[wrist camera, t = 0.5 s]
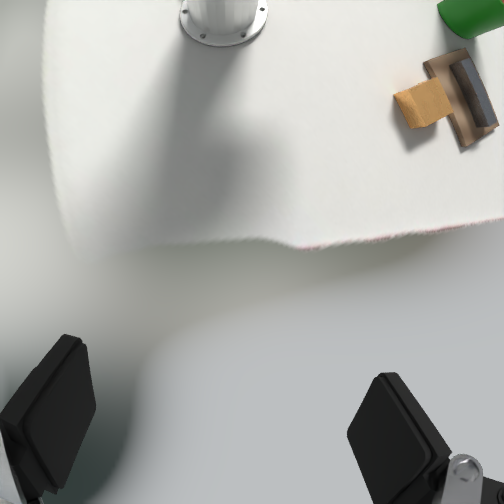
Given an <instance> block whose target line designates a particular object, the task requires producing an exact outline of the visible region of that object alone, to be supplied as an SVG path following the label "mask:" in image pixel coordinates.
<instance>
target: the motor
mask: <svg viewBox="0 0 504 504" xmlns="http://www.w3.org/2000/svg"><path fill="white" fill-rule="evenodd" d="M437 6H438V10H439V13H440V15H441V17H442V19H443V20H444V22H445V23H446V24H447V25H448V27H449V28H450V29H451V30H452V31H453V32H455V33H456V34H457V35H459V36H460V37H462V38H465V39H471V38H473V37H476V36H478V35H481V34H483V33H486V32H488V31H491V30H494V29H496V28H499V27H502V26H504V0H443V1H442V2H440V3H439V4H437Z"/></svg>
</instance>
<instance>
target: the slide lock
mask: <svg viewBox="0 0 504 504" xmlns="http://www.w3.org/2000/svg"><path fill="white" fill-rule="evenodd" d="M394 97H395V98H396V100H397V102H398V104H399V106H400V108H401V110H402V112H403V114H404V116H405V118H406V120H407V122H408V124H409V127H410V129H412V128H419V127H426V126H428V125H430V124H432V123H434V122H436V121H438V120H439V119H441V118H443V117H445V116H447V115H449V114H451V113H453V112H454V111H453V109H452V106H451V104H450V102H449V100H448V98H447V95H446V93H445V91H444V89H443V87H442V85H441V83H440V81H439V79H438V77H435V78H432V79H429V80H426V81H423V82H421V83H418V85H416V86H414V87H411V88H409V89H406V90H404V91H401V92H398V93H396V94H394Z"/></svg>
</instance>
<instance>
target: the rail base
mask: <svg viewBox="0 0 504 504" xmlns="http://www.w3.org/2000/svg"><path fill="white" fill-rule="evenodd" d="M468 58H470V59H471V57H470V56H469V54H468V52H467V50H466V48H463V49H460V50H457V51H454V52H451V53H448V54H445V55H442V56H439V57H436V58H433V59H430V60H428V61H425V62H423V63H424V65H425V67H426V69H427V71H428V73H429V74H430V76H431V78H435V77H438V79H439V81H440V83H441V85H442V87H443V89H444V91H445V93H446V95H447V98H448V100H449V102H450V104H451V106H452V109H453V111H454V112H453V113H451V114H449V116H450V119H451V121H452V123H453V126H454V128H455V131H456V133H457V136H458V139H459V141H460V144H461V147H467V146H468V145H470V144H472V143H473V142H475V141H476V140H478V139H479V138H481V137H482V136H484V135H485V134H487V133H488V132H490V131H491V130H493V129H494V128H496V127H497V126H499V123H498V120H497V122H496V123H495V124H493V125H492V126H490V127H477V128H476V125H475V122H474V120H473V117H472V115H471V112H470V110H469V107H468V105H467V103H466V100H465V98H464V96H463V94H462V91H461V89H460V87H459V85H458V83H457V81H456V79H455V77H454V75H453V73H452V71H451V69H450V67H449V65H451V64H453V63H456V62H459V61H462V60H465V59H468ZM471 61H472V59H471ZM472 63H473V61H472ZM473 65H474V63H473ZM474 67H475V65H474ZM475 69H476V67H475ZM476 71H477V70H476ZM477 73H478V72H477ZM478 76H479V74H478ZM479 78H480V76H479ZM480 80H481V78H480ZM481 82H482V80H481ZM482 84H483V82H482ZM483 87H484V85H483ZM484 89H485V87H484ZM485 91H486V89H485ZM486 94H487V92H486ZM487 96H488V94H487ZM488 98H489V96H488ZM489 101H490V99H489ZM490 103H491V101H490ZM491 106H492V104H491ZM492 109H493V106H492ZM493 111H494V109H493ZM494 114H495V112H494ZM495 117H496V114H495ZM496 119H497V117H496Z"/></svg>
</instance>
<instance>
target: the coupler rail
mask: <svg viewBox="0 0 504 504" xmlns="http://www.w3.org/2000/svg"><path fill="white" fill-rule="evenodd" d="M449 67H450V69H451V71H452V73H453V75H454V77H455V79H456V81H457V83H458V85H459V87H460V89H461V91H462V94H463V96H464V98H465V100H466V103H467V105H468V107H469V110H470V112H471V115H472V117H473V120H474V122H475V125H476V128H477V127H490V126H492V125H493V124H495V123H496V122H497V119H496V117H495V114H494V111H493V109H492V106H491V103H490V101H489V98H488V96H487V94H486V91H485V89H484V87H483V84H482V82H481V80H480V78H479V76H478V73H477V71H476V69H475V67H474V65H473V63H472V61H471V59H470V58H468V59H465V60H462V61H459V62H456V63H453V64H451V65H449Z"/></svg>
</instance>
